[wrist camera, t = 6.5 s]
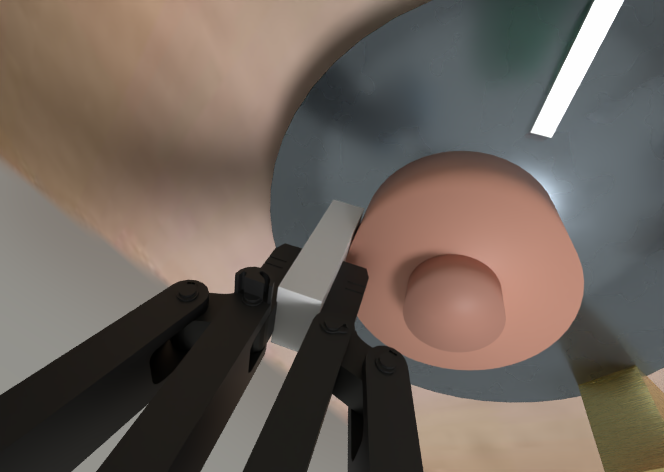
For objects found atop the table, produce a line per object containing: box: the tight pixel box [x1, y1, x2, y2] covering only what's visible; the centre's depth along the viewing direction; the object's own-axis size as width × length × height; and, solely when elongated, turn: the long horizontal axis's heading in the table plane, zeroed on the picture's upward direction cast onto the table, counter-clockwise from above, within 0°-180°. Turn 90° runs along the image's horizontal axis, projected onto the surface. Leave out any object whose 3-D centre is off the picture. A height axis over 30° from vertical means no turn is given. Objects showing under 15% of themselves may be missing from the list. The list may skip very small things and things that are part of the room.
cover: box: [346, 151, 584, 370], centre depth 16 cm, size 9×9×6 cm
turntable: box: [270, 0, 664, 472], centre depth 17 cm, size 24×22×7 cm
